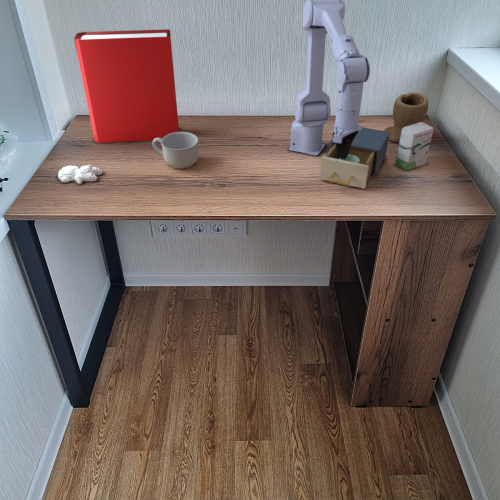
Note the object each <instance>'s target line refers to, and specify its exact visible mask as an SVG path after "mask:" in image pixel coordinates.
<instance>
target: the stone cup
mask: <svg viewBox="0 0 500 500" xmlns="http://www.w3.org/2000/svg"><path fill="white" fill-rule="evenodd" d="M428 111H429V99H428V97H427V96H426V95H425V94H422V93H419V92H415V91H414V92H408V93H405V94H400V95H399V96H398V97H397V98H396V99H395V101H394V103H393V108H392V119H393V126H388V127H386V128H385V129H384V130H383V131H386V132H390V133H389V139H388V141H390V142H393V143H399V142H400V137H401V132H402V128H404V127H406V126H410V125H413V124H416V123H420V122H422V123H424V120H425V118H426V116H427V113H428Z"/></svg>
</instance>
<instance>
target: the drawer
mask: <svg viewBox="0 0 500 500" xmlns="http://www.w3.org/2000/svg"><path fill="white" fill-rule="evenodd" d="M348 155H354V156H357V157H358V158H359V160H360V161H359V163H354V162H349V161H344V160H340V159H339V158H338V155H337V147H336V144H334V145H333V147H332V148H331V149H330V148H329V151H328V152H327V153H326V154H325V155H323V156H322V157H321V160H320V161H321V162H320V172H319V179H320V180H323V181H327V182H329V183H333V184H338V185H342V186H347V187H349V186H350V187H354V188H359V189H363V190H364V189H366V187H367V182H368V179H369V178H370V176H371V175H370V174H371V172H372V171H373V169H374V164H375V158H376V151H371V150H366V149H361V148H355V147H350V150H349V153H348Z"/></svg>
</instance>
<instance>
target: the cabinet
mask: <svg viewBox="0 0 500 500" xmlns="http://www.w3.org/2000/svg"><path fill="white" fill-rule="evenodd" d="M389 133H390V132H386V131H384V130H380V129H375V128H368V127H362V130H361V131H358V134H357V135H356V137H355V138H354V140H353V142H352V145H351V147H355V148H361V149H366V150H371V151H376V158H375V164H374V169H373V171H372V172H371V174H370V176H374V177H375V176H376V175H377V173H378V171H379V169H380V167H381V166H382V164H383V162H384V160H385V158H386V155H387V150H388V149H387V148H388V145H389ZM333 139H334V138H333V137H332V139H331V140H330V143H329V150H330V149H331V148H332V147H333V145H334V144H336V143H335V142H333Z"/></svg>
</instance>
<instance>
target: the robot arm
mask: <svg viewBox="0 0 500 500" xmlns="http://www.w3.org/2000/svg"><path fill="white" fill-rule="evenodd" d="M345 14H346V6H345V2H344V0H306V1H305V2H304V4H303V7H302V30H303V31H305V32H307V57H306V59H307V60H306V83H305V84H306V85H305V89H304V90H303V91H302V92H301V93H299V94H298V95H297V96H296V99H295V105H294V117H295V119H294V120H293V122H292V124H291V129H290V140H289V141H290V143H289V149H288V150H289V151H292V152H298V153H301V154H307V155H311V156H319V155H320V153H321V152H322V151H323V149H325V147H326V144H325V143H322V142H323V133H324V132H323V131H324V130H323V129H324V125H325V124H326V122H327V121H328V120H329V119H330V117H331V114H332V113H331V112H332V111H331V110H332V109H331V98H330V95H329V94H328V93H327V92H326V91H324V90H323V88H324V86H323V85H324V71H325V54H326V53H325V52H326V37H327V34H328V36H329V38H330V39H331V41H332V43H331V46H330V50H331V53H332V55H333V57H334V60H335V63H336V65H337V67H336V78H337V82H336V87H337V90H338V93H337V103H336V110H335V111H336V112H335V122H334V124H333V130H334V131H333V132H332V139H333V138H334V139H333V142H335V143H336V147H337V155H338V158H341V159H346V158H347V156H348V153H349V150H350V147H351V145H352V142H353V140H354V138H355V137H356V135H357V134H358V131H361V130H362V127H363V125H360V124H359V121H360V114H361V113H360V112H361V106H362V99H363V92H364V84H365V83H366V82H368V80H369V78H370V74H371V65H370V61H369V57H368V56H366V55H364V54H362V53H361V54H360V52H359V49H358V47H357V45H356V42H355V40H354V38H353V36H352V35H350V34H347V31H346V28H345V24H344V19H345Z"/></svg>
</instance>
